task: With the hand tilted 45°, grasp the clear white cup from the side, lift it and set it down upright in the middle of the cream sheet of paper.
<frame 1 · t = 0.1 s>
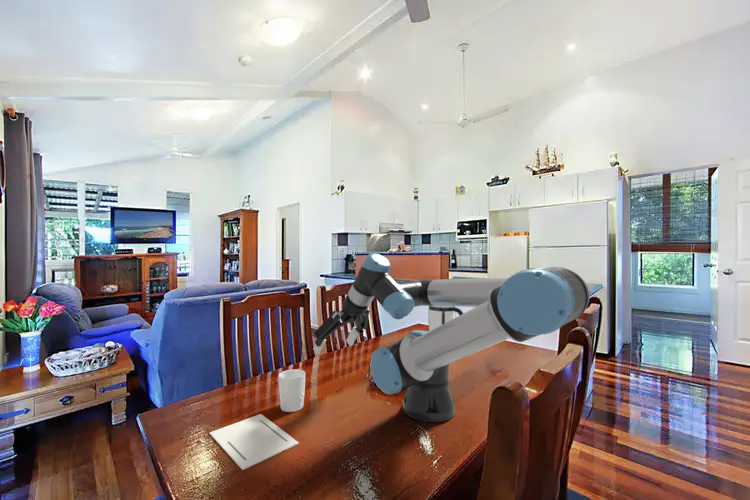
hand: (333, 347, 111), 15 cm above the table, tool tilted 35°, fingers open, 13 cm apart
coffee press: (444, 350, 159), on the table
paper sheet: (253, 438, 84), on the table
white cup: (292, 407, 101), on the table
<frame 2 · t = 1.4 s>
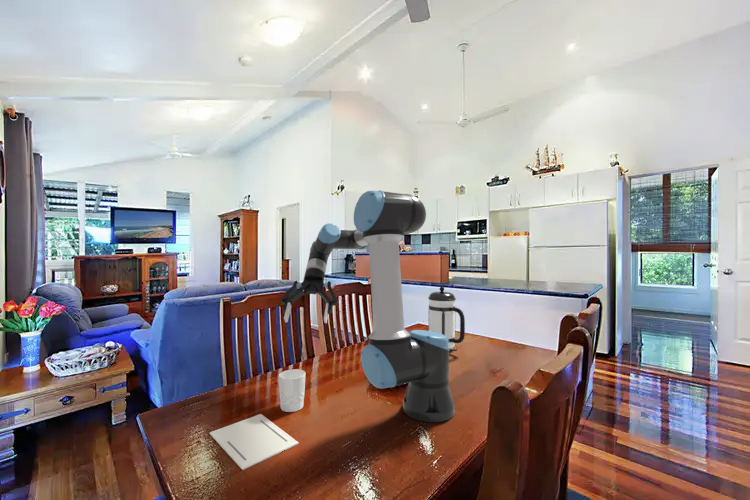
hand: (305, 320, 114), 23 cm above the table, tool tilted 45°, fingers open, 13 cm apart
nothing on the table moved.
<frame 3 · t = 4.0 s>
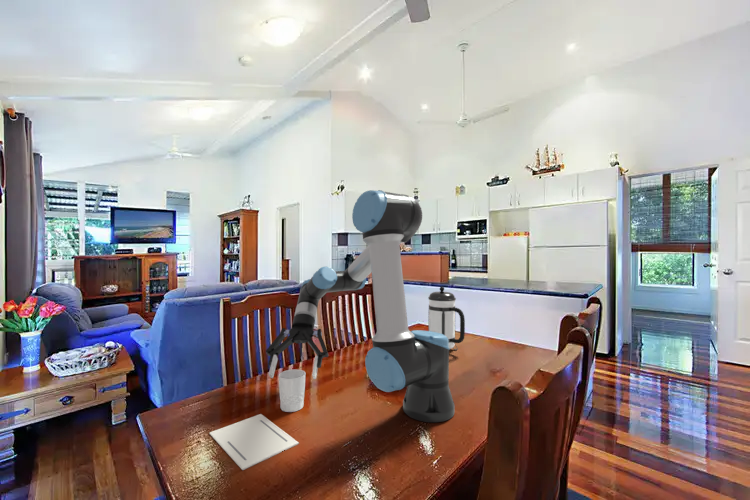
hand: (292, 376, 104), 8 cm above the table, tool tilted 45°, fingers open, 13 cm apart
nothing on the table moved.
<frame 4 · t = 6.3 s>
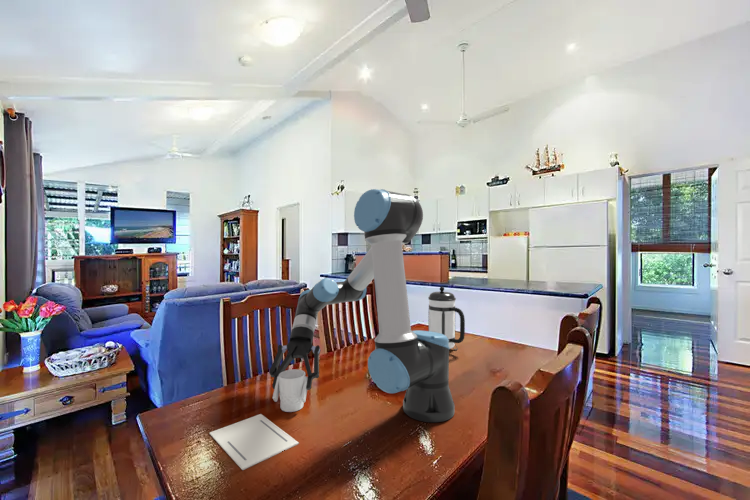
hand: (288, 400, 98), 4 cm above the table, tool tilted 45°, fingers closed on white cup, 8 cm apart
white cup: (292, 407, 101), on the table, touching gripper
everything else where it was.
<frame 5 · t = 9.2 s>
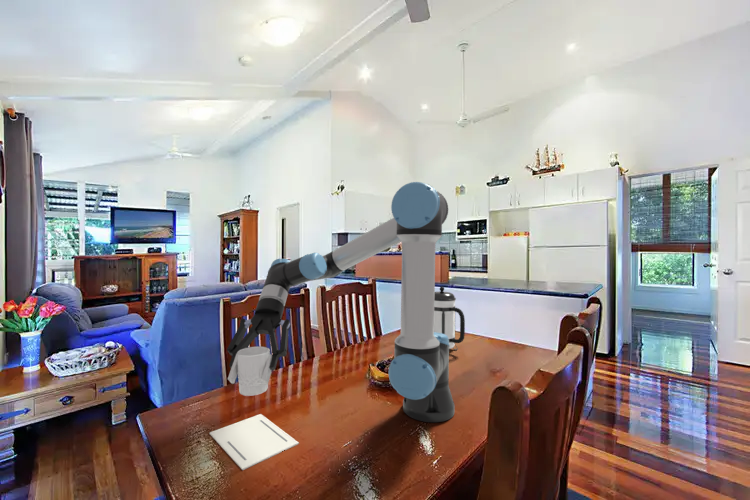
hand: (247, 381, 81), 16 cm above the table, tool tilted 45°, fingers closed on white cup, 8 cm apart
white cup: (253, 391, 85), point 12 cm above the table, touching gripper
everything else where it was.
when the fingers open (5 cm above the table, at t = 12.1 s): white cup drops 1 cm, resting on paper sheet.
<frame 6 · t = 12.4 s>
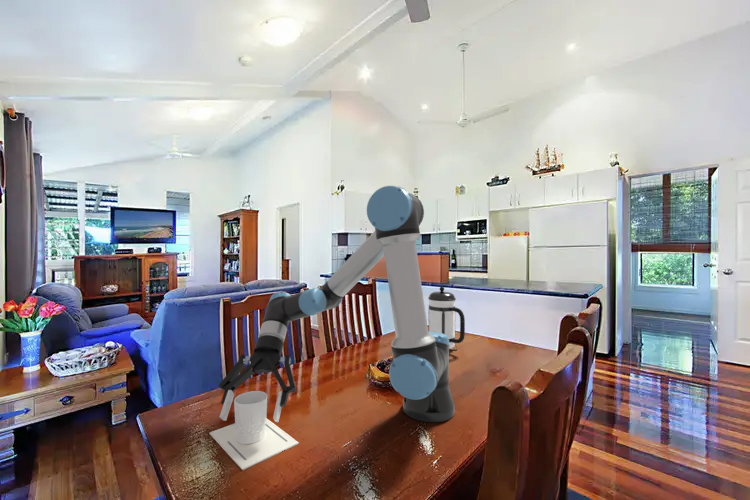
hand: (249, 419, 82), 6 cm above the table, tool tilted 45°, fingers open, 12 cm apart
white cup: (250, 437, 85), resting on paper sheet
everything else where it was.
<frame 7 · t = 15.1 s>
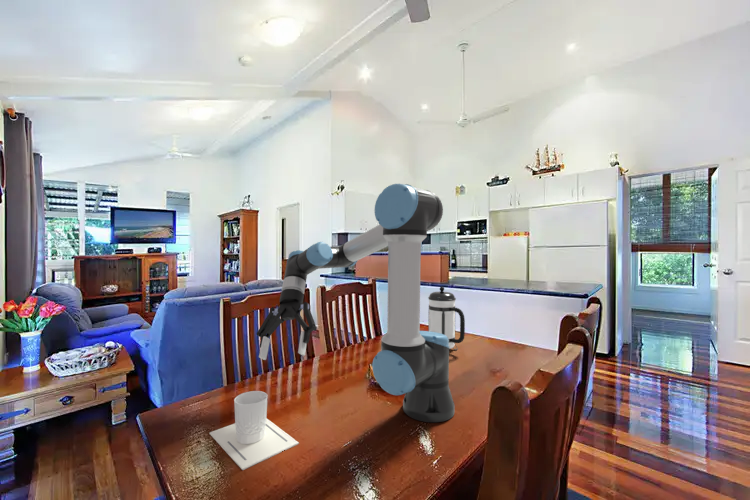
hand: (281, 356, 100), 16 cm above the table, tool tilted 35°, fingers open, 13 cm apart
nothing on the table moved.
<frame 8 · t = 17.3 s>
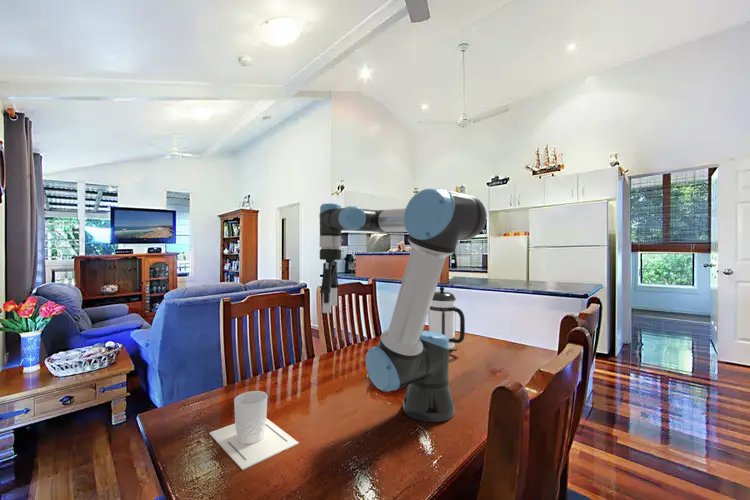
hand: (330, 309, 117), 27 cm above the table, tool pointing down, fingers open, 13 cm apart
nothing on the table moved.
at the end: white cup inside the target area on the paper sheet (0.7 cm from its centre), point 0.1 cm above the paper sheet's base; white cup tilted 0°; the gripper is holding nothing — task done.
